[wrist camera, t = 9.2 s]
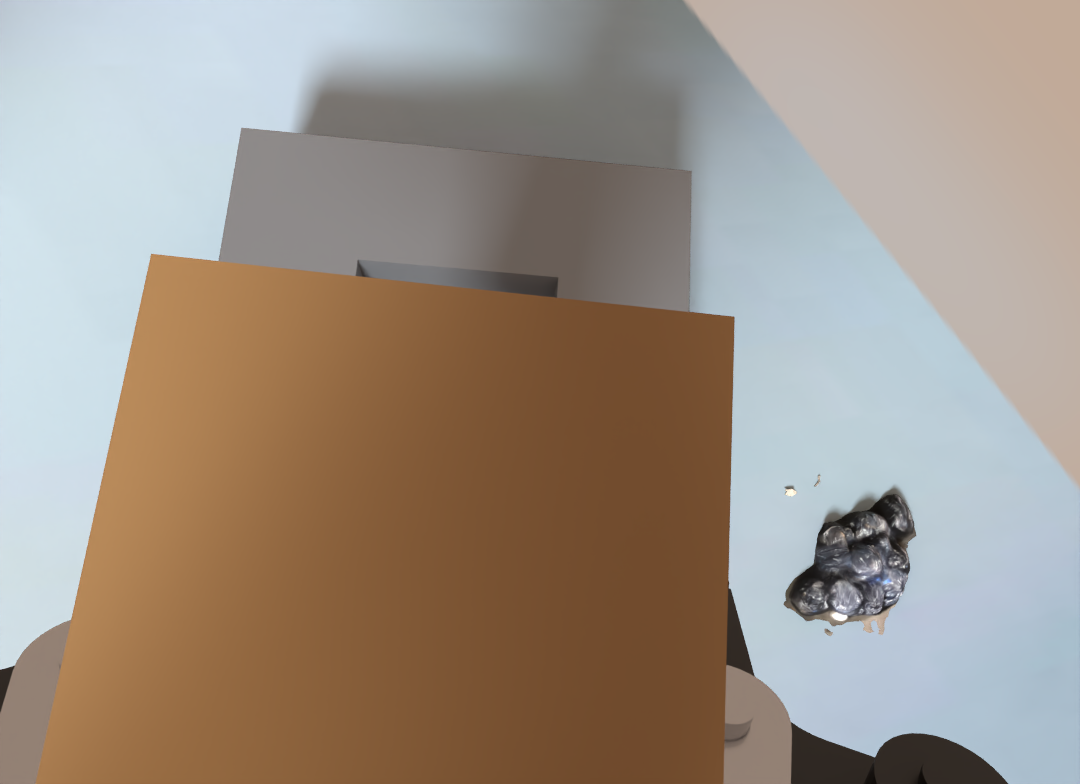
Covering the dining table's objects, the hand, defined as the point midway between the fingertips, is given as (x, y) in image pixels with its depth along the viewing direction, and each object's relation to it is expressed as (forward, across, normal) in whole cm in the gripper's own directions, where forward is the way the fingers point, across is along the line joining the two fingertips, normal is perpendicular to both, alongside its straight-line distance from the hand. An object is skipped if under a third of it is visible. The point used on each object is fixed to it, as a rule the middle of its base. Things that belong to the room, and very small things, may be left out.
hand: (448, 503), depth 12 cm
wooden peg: (+3, 0, +5) cm, 6 cm away
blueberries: (+15, -13, +11) cm, 23 cm away
